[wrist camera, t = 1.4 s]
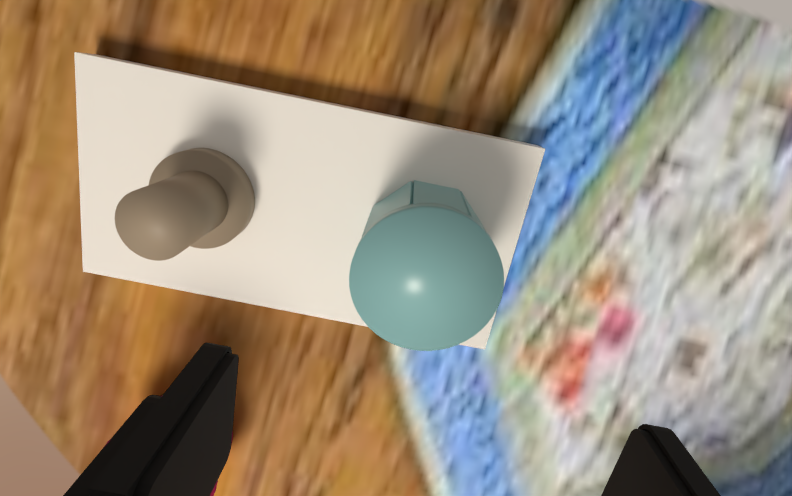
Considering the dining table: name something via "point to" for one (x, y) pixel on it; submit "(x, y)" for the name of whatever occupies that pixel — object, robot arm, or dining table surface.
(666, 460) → the robot arm
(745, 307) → the dining table surface
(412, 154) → the board
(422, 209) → the cap
